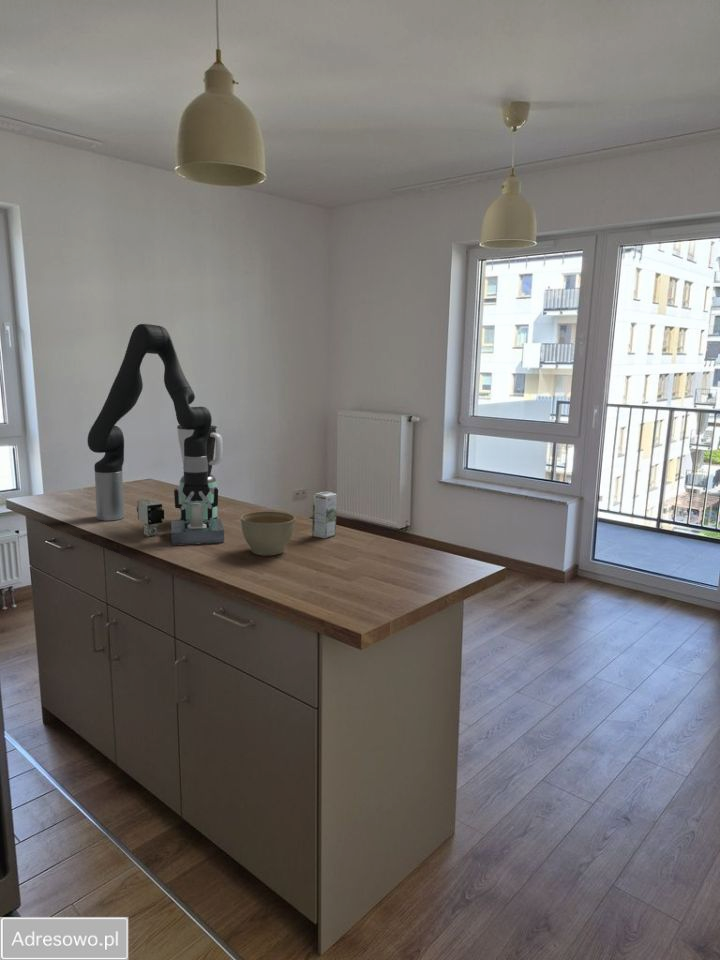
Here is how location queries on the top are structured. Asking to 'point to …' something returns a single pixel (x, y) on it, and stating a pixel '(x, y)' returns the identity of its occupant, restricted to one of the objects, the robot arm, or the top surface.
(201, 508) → the white stepped cylindrical peg
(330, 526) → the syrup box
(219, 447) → the mint green blender
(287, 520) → the planter bowl
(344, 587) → the top surface
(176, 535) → the bore block
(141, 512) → the pneumatic valve
